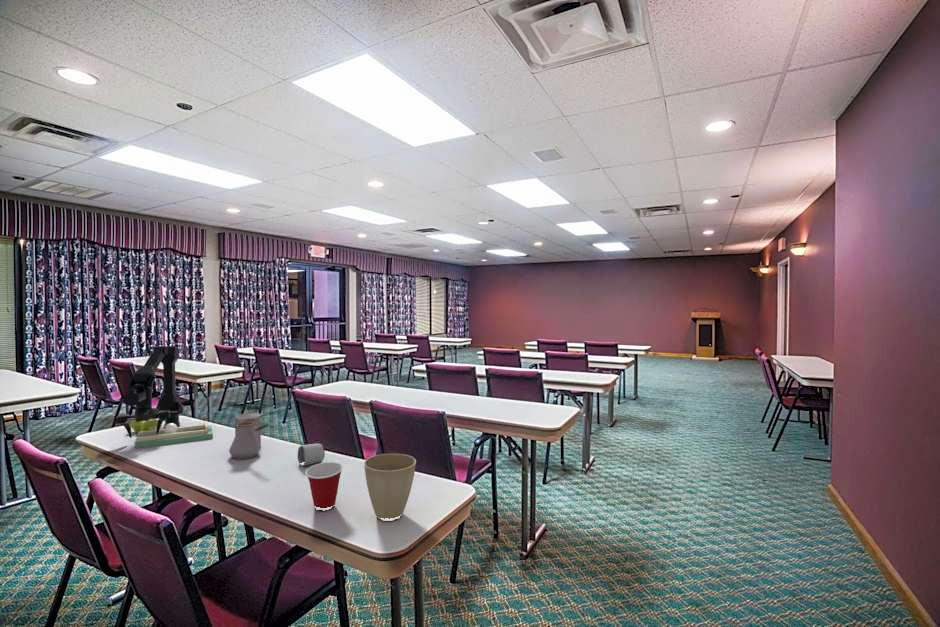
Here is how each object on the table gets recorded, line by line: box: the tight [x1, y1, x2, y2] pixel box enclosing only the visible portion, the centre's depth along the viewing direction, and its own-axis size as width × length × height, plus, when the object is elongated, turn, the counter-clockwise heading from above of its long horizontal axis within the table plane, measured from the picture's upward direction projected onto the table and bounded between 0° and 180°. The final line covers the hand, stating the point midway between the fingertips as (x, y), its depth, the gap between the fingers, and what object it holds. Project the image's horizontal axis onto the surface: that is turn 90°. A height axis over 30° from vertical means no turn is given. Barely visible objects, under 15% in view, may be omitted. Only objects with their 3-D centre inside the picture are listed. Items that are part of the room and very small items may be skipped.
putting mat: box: [135, 420, 214, 449], centre depth 202 cm, size 16×28×5 cm, turn 122°
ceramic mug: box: [297, 442, 326, 467], centre depth 174 cm, size 11×8×8 cm
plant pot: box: [363, 453, 417, 519], centre depth 131 cm, size 15×15×16 cm
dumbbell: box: [130, 418, 162, 433], centre depth 210 cm, size 16×8×7 cm, turn 54°
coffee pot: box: [228, 422, 270, 460], centre depth 178 cm, size 21×12×15 cm, turn 58°
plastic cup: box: [304, 461, 344, 508], centre depth 136 cm, size 11×11×12 cm
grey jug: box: [234, 412, 262, 446], centre depth 191 cm, size 10×10×15 cm
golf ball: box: [163, 423, 178, 434], centre depth 201 cm, size 5×5×5 cm
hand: (144, 436), depth 196 cm, fingers open, 9 cm apart
